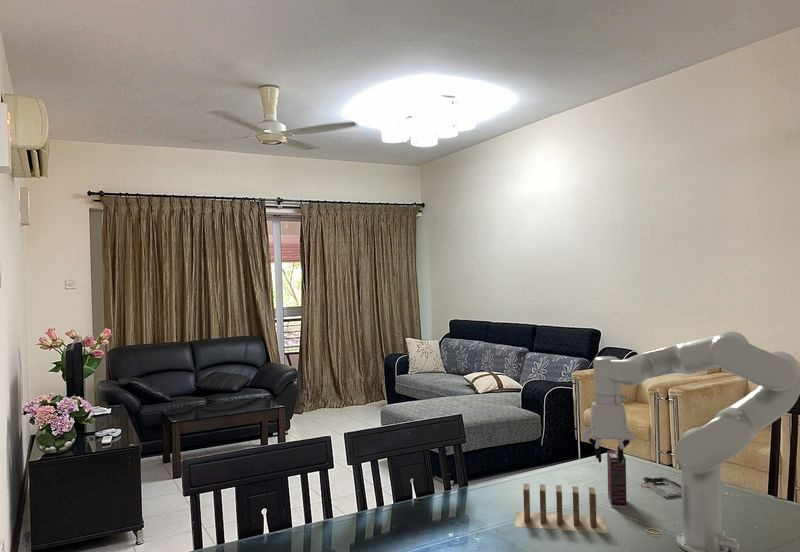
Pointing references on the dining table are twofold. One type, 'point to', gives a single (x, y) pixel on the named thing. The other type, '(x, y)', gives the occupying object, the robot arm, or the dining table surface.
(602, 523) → the light wooden board
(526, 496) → the domino
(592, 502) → the domino
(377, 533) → the dining table surface
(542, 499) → the domino
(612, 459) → the supplement box
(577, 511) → the domino
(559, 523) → the domino
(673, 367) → the robot arm
